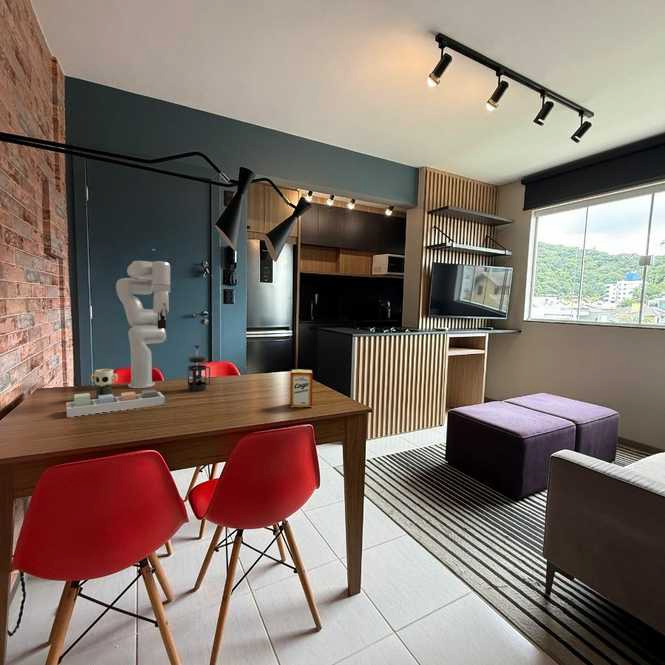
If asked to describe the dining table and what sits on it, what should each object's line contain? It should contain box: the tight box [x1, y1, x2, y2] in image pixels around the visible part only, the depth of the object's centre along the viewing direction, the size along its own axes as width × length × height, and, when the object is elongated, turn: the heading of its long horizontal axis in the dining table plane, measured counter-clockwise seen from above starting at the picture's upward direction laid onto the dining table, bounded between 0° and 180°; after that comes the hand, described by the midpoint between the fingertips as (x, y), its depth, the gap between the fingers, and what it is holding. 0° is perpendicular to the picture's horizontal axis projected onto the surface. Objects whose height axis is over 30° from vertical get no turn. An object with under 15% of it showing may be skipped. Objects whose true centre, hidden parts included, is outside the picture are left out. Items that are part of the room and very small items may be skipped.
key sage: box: [73, 392, 91, 407], centre depth 139 cm, size 5×5×4 cm
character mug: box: [90, 368, 118, 399], centre depth 159 cm, size 11×7×13 cm, turn 100°
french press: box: [186, 344, 211, 393], centre depth 179 cm, size 12×9×23 cm
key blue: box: [98, 393, 115, 404], centre depth 144 cm, size 5×5×4 cm
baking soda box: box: [289, 368, 314, 407], centre depth 156 cm, size 10×6×16 cm
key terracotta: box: [120, 391, 137, 401], centre depth 149 cm, size 5×5×4 cm
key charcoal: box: [141, 389, 158, 399], centre depth 154 cm, size 5×5×4 cm
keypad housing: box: [65, 391, 166, 418], centre depth 146 cm, size 10×34×4 cm, turn 128°
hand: (161, 328), depth 163 cm, fingers closed
